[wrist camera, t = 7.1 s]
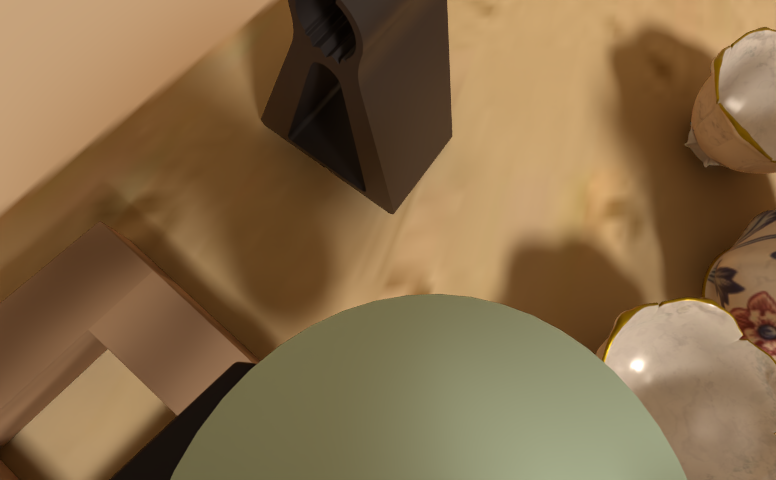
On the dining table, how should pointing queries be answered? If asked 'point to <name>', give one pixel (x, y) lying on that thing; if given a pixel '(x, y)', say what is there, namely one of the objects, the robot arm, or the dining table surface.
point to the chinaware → (718, 297)
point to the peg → (430, 403)
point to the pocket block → (105, 330)
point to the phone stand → (367, 91)
